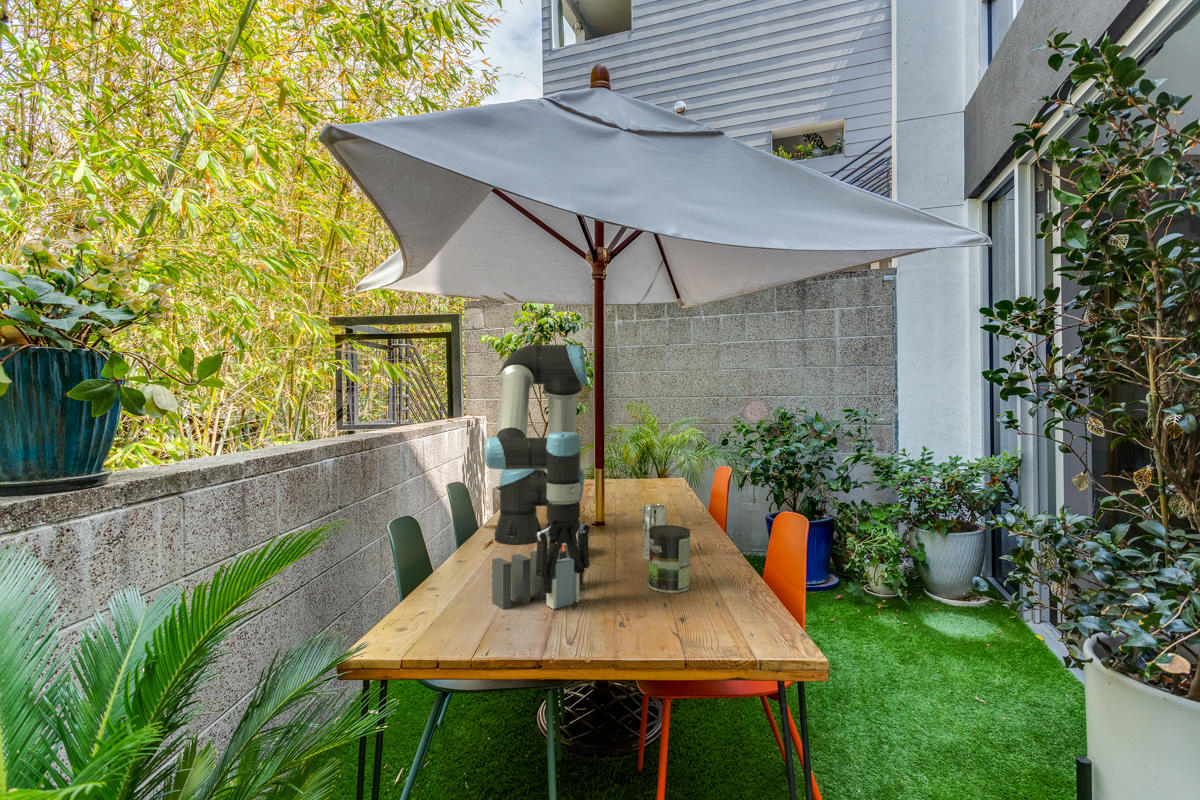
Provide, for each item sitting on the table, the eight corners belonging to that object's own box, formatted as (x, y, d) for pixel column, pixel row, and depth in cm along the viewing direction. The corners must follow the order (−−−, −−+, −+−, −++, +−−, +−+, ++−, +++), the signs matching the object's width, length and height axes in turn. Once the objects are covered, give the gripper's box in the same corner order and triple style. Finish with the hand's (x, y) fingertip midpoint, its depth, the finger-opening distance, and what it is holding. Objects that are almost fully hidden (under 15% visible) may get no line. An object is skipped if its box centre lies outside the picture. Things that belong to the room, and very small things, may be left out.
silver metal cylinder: (665, 554, 174) (666, 504, 174) (665, 561, 167) (666, 508, 167) (641, 554, 175) (642, 503, 174) (641, 560, 168) (641, 508, 167)
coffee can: (659, 595, 140) (659, 536, 140) (641, 582, 150) (641, 526, 149) (697, 590, 143) (698, 533, 143) (677, 577, 153) (678, 523, 153)
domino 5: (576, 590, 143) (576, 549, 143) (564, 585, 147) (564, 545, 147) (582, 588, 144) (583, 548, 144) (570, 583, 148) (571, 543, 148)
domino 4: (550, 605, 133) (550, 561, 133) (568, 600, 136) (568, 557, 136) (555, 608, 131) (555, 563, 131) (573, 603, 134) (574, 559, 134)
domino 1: (503, 609, 130) (503, 564, 130) (492, 602, 134) (492, 559, 134) (511, 607, 132) (511, 562, 132) (499, 601, 136) (500, 557, 135)
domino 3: (541, 599, 137) (541, 556, 137) (529, 593, 141) (530, 551, 140) (548, 597, 138) (548, 555, 138) (536, 591, 142) (537, 550, 142)
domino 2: (522, 604, 134) (523, 560, 133) (511, 598, 138) (511, 555, 137) (530, 602, 135) (530, 558, 135) (518, 596, 139) (519, 553, 139)
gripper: (537, 508, 124) (537, 618, 125) (606, 498, 136) (605, 599, 137) (518, 503, 130) (518, 608, 131) (586, 494, 142) (585, 590, 142)
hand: (562, 603), depth 134 cm, fingers open, 6 cm apart
